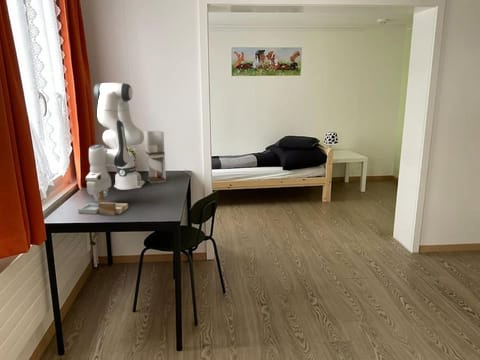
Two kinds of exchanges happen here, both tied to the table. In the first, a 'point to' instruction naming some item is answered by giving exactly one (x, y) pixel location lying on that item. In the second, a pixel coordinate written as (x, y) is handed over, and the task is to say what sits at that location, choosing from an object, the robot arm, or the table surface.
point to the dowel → (101, 196)
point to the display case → (155, 156)
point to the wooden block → (107, 208)
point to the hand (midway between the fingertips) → (101, 198)
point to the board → (120, 207)
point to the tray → (89, 209)
